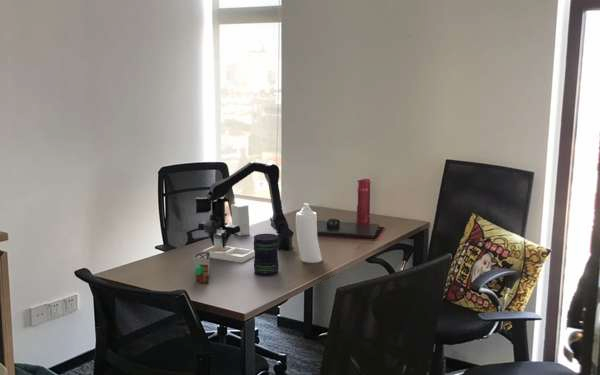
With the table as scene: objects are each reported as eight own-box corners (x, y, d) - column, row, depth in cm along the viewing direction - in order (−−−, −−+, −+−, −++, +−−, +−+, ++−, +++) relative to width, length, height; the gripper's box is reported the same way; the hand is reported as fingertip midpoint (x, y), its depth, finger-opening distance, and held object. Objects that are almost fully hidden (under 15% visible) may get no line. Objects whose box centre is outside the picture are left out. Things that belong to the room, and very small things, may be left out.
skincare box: (249, 234, 305) (249, 205, 303) (239, 236, 302) (238, 206, 300) (241, 231, 312) (241, 202, 310) (231, 232, 309) (230, 203, 306)
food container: (194, 275, 243) (193, 250, 241) (210, 274, 243) (209, 250, 241) (191, 285, 230) (191, 259, 229) (208, 285, 231) (207, 259, 229)
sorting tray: (255, 255, 269) (255, 250, 268) (242, 262, 259) (242, 256, 259) (216, 250, 278) (216, 244, 277) (202, 256, 268) (201, 250, 268)
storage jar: (262, 267, 252) (262, 232, 250) (283, 271, 248) (283, 235, 245) (248, 274, 244) (248, 237, 241) (269, 278, 239) (269, 241, 236)
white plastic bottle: (317, 265, 256) (317, 206, 251) (292, 263, 259) (293, 205, 254) (324, 257, 267) (325, 201, 262) (300, 255, 270) (301, 199, 265)
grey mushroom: (227, 249, 271) (226, 233, 270) (220, 252, 267) (220, 236, 266) (217, 247, 274) (217, 232, 272) (211, 250, 269) (210, 235, 268)
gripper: (189, 213, 264) (190, 248, 267) (226, 217, 256) (227, 254, 259) (204, 208, 274) (205, 242, 277) (240, 212, 266) (241, 247, 269)
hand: (219, 246), depth 270 cm, fingers closed on grey mushroom, 5 cm apart
